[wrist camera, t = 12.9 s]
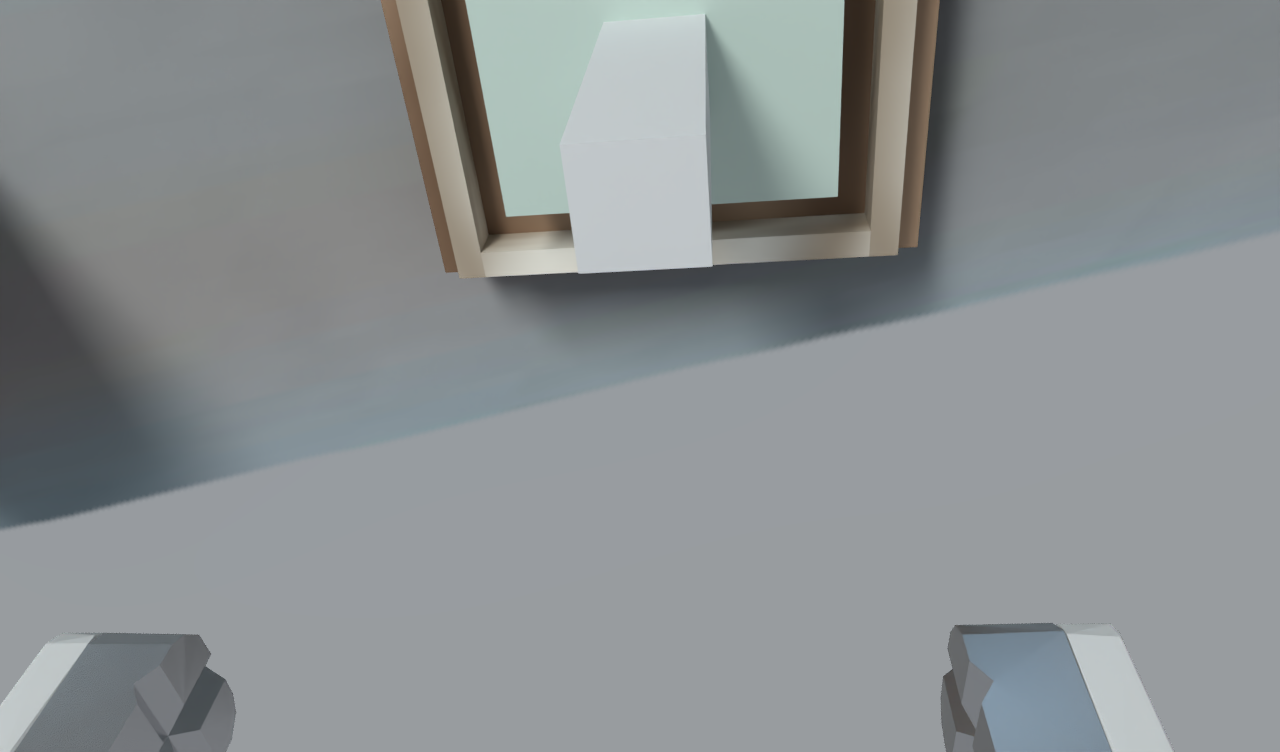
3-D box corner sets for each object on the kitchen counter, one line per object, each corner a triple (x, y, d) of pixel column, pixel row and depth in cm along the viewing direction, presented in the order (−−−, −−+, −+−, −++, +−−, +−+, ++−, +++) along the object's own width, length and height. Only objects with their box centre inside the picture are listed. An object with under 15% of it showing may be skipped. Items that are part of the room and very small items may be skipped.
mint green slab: (834, -129, 27) (920, -43, 16) (827, 160, 32) (888, 370, 21) (473, -94, 28) (330, 7, 17) (521, 180, 33) (433, 389, 22)
